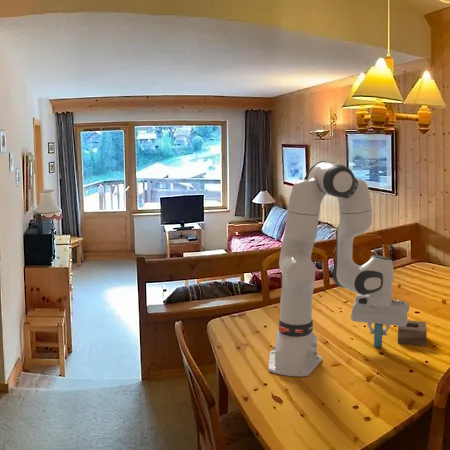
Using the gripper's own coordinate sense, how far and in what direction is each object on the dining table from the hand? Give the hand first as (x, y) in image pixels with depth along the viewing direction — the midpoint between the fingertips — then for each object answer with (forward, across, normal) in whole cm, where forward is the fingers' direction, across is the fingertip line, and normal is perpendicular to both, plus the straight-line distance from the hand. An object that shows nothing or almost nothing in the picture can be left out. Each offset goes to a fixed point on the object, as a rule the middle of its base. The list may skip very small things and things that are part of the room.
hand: (378, 334), depth 198 cm
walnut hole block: (+5, -12, -10) cm, 16 cm away
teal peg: (+5, 0, 0) cm, 5 cm away
